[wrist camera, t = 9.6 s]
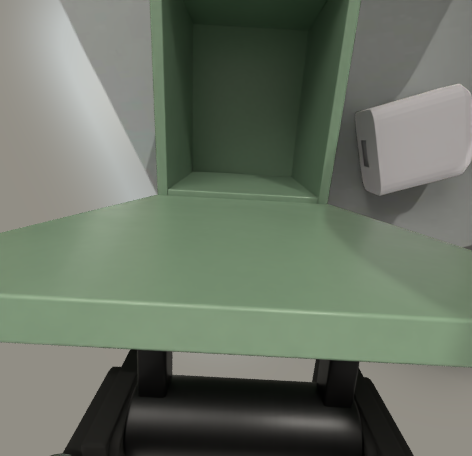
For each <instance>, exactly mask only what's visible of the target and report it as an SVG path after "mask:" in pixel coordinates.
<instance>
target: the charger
mask: <svg viewBox="0 0 472 456" xmlns="http://www.w3.org/2000/svg"><path fill="white" fill-rule="evenodd" d="M355 126H356V134H357V142H358V150H359V158H360V166H361V174H362V180H363V185H364V188H365V190H366V191H369V192H371V193H373V194H376V195H378V196H380V195H384V194H388V193H391V192H395V191H399V190H403V189H407V188H411V187H415V186H419V185H423V184H427V183H431V182H434V181H438V180H442V179H446V178H450V177H454V176H458V175H462V173H463V172H464V171H465V169H466V168H467V167H468V165H469V164H470V162H471V157H472V97H471V93H470V92H469V91H468V90H467V89H466V88H465V87H463V86H462V85H461V84H455V85H451V86H447V87H443V88H439V89H435V90H432V91H428V92H425V93H421V94H418V95H414V96H411V97H407V98H404V99H401V100H397V101H394V102H390V103H387V104H383V105H380V106H376V107H373V108H369V109H366V110H362V111H359V112H356V115H355Z"/></svg>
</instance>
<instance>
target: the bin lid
mask: <svg viewBox="0 0 472 456" xmlns="http://www.w3.org/2000/svg"><path fill="white" fill-rule="evenodd" d="M0 342H6V343H24V344H43V345H61V346H80V347H99V348H118V349H119V348H120V349H136V350H137V371H138V382H137V384H136V387H135V389H134V391H133V394H132V397H131V400H130V403H129V407H128V411H127V415H126V420H125V428H124V437H123V449H124V454H125V456H364V438H363V430H362V424H361V419H360V415H359V411H358V408H357V405H356V402H355V400H354V392H355V386H356V380H357V374H358V368H359V361H360V362H378V363H399V364H417V365H434V366H453V367H472V251H471V250H468V249H465V248H462V247H459V246H456V245H453V244H449V243H446V242H443V241H440V240H437V239H434V238H431V237H428V236H425V235H422V234H419V233H416V232H413V231H409V230H406V229H403V228H400V227H397V226H394V225H391V224H388V223H385V222H382V221H379V220H376V219H372V218H369V217H366V216H363V215H360V214H357V213H354V212H351V211H348V210H345V209H342V208H339V207H336V206H332V205H329V204H313V203H295V202H277V201H259V200H241V199H223V198H204V197H186V196H168V195H154V196H150V197H146V198H142V199H138V200H134V201H129V202H126V203H121V204H118V205H113V206H109V207H105V208H101V209H97V210H93V211H88V212H85V213H80V214H76V215H72V216H68V217H64V218H60V219H56V220H52V221H48V222H44V223H40V224H35V225H31V226H27V227H23V228H19V229H15V230H11V231H7V232H2V233H0ZM172 351H173V352H192V353H212V354H229V355H249V356H266V357H285V358H305V359H320V361H319V369H318V377H317V383H315V382H296V381H277V380H259V379H240V378H220V377H203V376H184V375H172Z"/></svg>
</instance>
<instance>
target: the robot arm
mask: <svg viewBox="0 0 472 456" xmlns="http://www.w3.org/2000/svg"><path fill="white" fill-rule="evenodd" d="M319 361H320V359H316V363H315V368H314V375H313V380H312V382H315V383H317V377H318V369H319ZM137 382H138V371H137V350H136V349H130V351H129V353H128V355H127V357H126V359H125V361H124V363H123V365H122V367H112V368H111V369H110V371H109V372H108V374H107V375H106V377H105V379H104V381H103V383H102V384H101V386H100V388H99V390H98V391H97V393H96V395H95V397H94V399H93V400H92V402H91V404H90V406H89V407H88V409H87V411H86V413H85V415H84V416H83V418H82V420H81V422H80V423H79V425H78V427H77V429H76V431H75V432H74V434H73V436H72V438H71V440H70V441H69V443H68V445H67V447H66V448H65V450H64V452H63V453H62V454H55V455H51V456H125V454H124V449H123V437H124V428H125V420H126V415H127V411H128V407H129V403H130V400H131V397H132V394H133V391H134V389H135V387H136V384H137ZM354 400H355V402H356V405H357V408H358V411H359V415H360V419H361V424H362V430H363V438H364V456H413V454H412V452H411V450H410V448H409V446H408V445H407V443H406V441H405V439H404V438H403V436H402V434H401V432H400V431H399V429H398V427H397V425H396V423H395V422H394V420H393V418H392V416H391V415H390V413H389V411H388V409H387V408H386V406H385V404H384V402H383V400H382V399H381V397H380V395H379V393H378V391H377V390H376V388H375V386H374V384H373V383H372V381H371V380H370V379H369V378H367V377H363V375H362V373H361V371H360V369H359V368H358V374H357V380H356V386H355V392H354Z"/></svg>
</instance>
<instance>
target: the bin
mask: <svg viewBox="0 0 472 456" xmlns="http://www.w3.org/2000/svg"><path fill="white" fill-rule="evenodd" d="M360 4H361V0H150V19H151V43H152V67H153V91H154V115H155V139H156V163H157V188H158V195H168V196H186V197H204V198H223V199H241V200H259V201H277V202H295V203H313V204H327V203H328V197H329V191H330V185H331V179H332V173H333V167H334V161H335V155H336V149H337V143H338V137H339V131H340V125H341V119H342V113H343V106H344V100H345V94H346V88H347V82H348V76H349V70H350V64H351V58H352V52H353V46H354V40H355V34H356V28H357V22H358V16H359V10H360Z"/></svg>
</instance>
